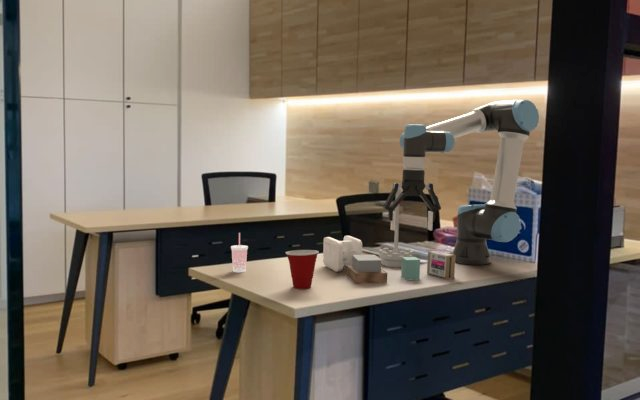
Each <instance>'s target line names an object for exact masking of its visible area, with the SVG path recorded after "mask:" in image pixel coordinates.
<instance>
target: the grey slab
mask: <svg viewBox="0 0 640 400" xmlns="http://www.w3.org/2000/svg"><path fill="white" fill-rule="evenodd" d="M352 267H353V268H354V269H355V270H356V271H357V272H381V268H382V259H381V258H380V257H378V256H377V255H376V254H362V255H352Z"/></svg>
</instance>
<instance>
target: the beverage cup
mask: <svg viewBox="0 0 640 400" xmlns="http://www.w3.org/2000/svg"><path fill="white" fill-rule="evenodd" d="M248 249H249V246H248V245H245V244H244V245H243V244H241V232H238V245H237V244H236V245H235V244H234V245H231V246H230V250H231V259H232V260H231V261H232V271H233V273H245V272H246V271H247V258H248V256H247V255H248Z"/></svg>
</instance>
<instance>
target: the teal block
mask: <svg viewBox="0 0 640 400" xmlns="http://www.w3.org/2000/svg"><path fill="white" fill-rule="evenodd" d="M420 272H421V259H420V258H419V257H416V256H413V257H402V267H401V273H400V274H401V278H403V280H406V281H407V280H408V281H409V280H410V281H411V280H414V281H417V280H420V278H421V277H420V275H421V273H420Z"/></svg>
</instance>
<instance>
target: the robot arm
mask: <svg viewBox="0 0 640 400" xmlns="http://www.w3.org/2000/svg"><path fill="white" fill-rule="evenodd" d="M539 121H540V113H539V110H538V108H537V106H536V105H535V103H534V102H533V101H531V100H529V99H519V98H517V99H511V100H509V99H508V100H498V101H497V100H496V101H493V102H492V101H491V102H489V103H487V104H484V105H481V106H479V107H476V108H472V109H471V110H470V111H469V112H468V113H465V114H462V115H459V116H456V117H453V118H450V119H447V120H444V121H441V122H437V123H435V124H431V125H428V126H426V124H420V123H419V124H418V123H416V124H415V123H413V124H412V123H411V124H409V123H408V124H406V125H405V126H404V129H403V130H404V131H403V132H402V133H401V135H400V136H399V145H400V147H401V149H402V150H403V157H402V167H403V170H402V180H401V183H397V182H394V183H392V189H391V191H390V193H389V194H388V197H387V199H386V200H385V203H384V204H383V209H384V210H386V211H388V214H387V215H388V217H387V220H388V221H389V222H390V230H391V231H394V232H395V208H396V207H397V206H398V205H399V203H400V202H401V201H402V200H404V199H405V198H406V197H407V196H408V197H412V196H413V197H420V198H421V199H422V200H423V202H424V203H425V205H426V206H427V207H428V209H429V210H427V211H428V212H427V230H429V231H433V222H435V220H436V213H437V212H438V211H440V210H442V207H441V205H440V202H439V199H438V197H437V195H436V192H435V191H434V184H433V183H430V182H428V183H425V172H426V171H425V170H424V169H425V168H426V153H442V154H444V153H449V152H451V151H453V149H454V147H455V141H456V140H455V139H457V138H460V137H463V136H466V135H469V134H472V133H477V134H480V133H483V132H489V131H490V132H491V131H494V132H495V131H496V132H497V135H498V137H500V139H499V140H500V141H499V147H498V152H497V159H496V164H495V169H494V170H495V171H494V176H493V181H492V182H493V183H492V188H491V193H490V199H489V200H488V201H487V202H486V203H484V204H482V203H481V204H464V205H463V204H462V205H460V206H459V207H458V209H457V214H456V217H457V218H456V242H455V245H454V248H453V250H452V253H451V254H452V255H456V258H455V263H456V264H462V265H471V266H472V265H474V266H479V265H487V264H490V263H491V255H490V251H489V249H488V245H487V240H491V241H495V242H500V243H501V242H502V243H508V242H510V241H513V240H514V239H515V238H516V237H517V236H518V234H519V232H520V231H521V226H522V221H521V219H520V215H518V214H517V210H518V209H517V208H518V207H516V205H515V203H514V202H515V197H516V191H517V184H518V179H519V171H520V167H521V161H522V155H523V149H524V143H525V141H527V140H528V139H529V137H530V134H531V133H530V132H532V131H534V130H535V129H536V128H537V127H538V124H539ZM399 189H401V191H402V192H401V193H400V195H399V196H398V198H397V199H396V193H397V191H398V190H399ZM425 189H426V190H427V191H428V194H429V197H430V198H431V201H432V202H431V201H430V199H429V198H428V197H427V196H426V194H425V192H424V190H425ZM394 198H395V199H394ZM393 200H394V201H393ZM402 202H403V201H402ZM402 202H401V203H402ZM401 203H400V204H401ZM399 206H400V205H399Z"/></svg>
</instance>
